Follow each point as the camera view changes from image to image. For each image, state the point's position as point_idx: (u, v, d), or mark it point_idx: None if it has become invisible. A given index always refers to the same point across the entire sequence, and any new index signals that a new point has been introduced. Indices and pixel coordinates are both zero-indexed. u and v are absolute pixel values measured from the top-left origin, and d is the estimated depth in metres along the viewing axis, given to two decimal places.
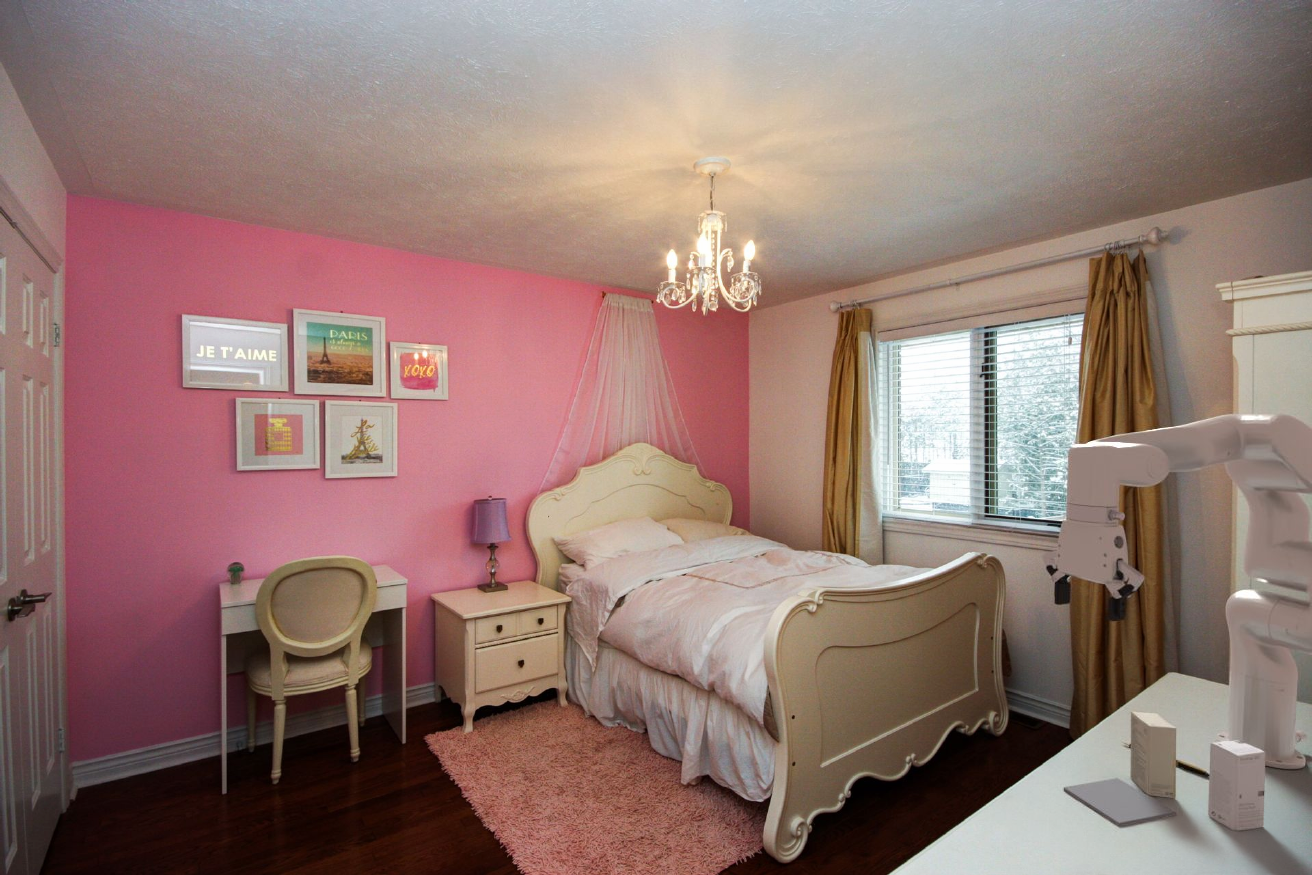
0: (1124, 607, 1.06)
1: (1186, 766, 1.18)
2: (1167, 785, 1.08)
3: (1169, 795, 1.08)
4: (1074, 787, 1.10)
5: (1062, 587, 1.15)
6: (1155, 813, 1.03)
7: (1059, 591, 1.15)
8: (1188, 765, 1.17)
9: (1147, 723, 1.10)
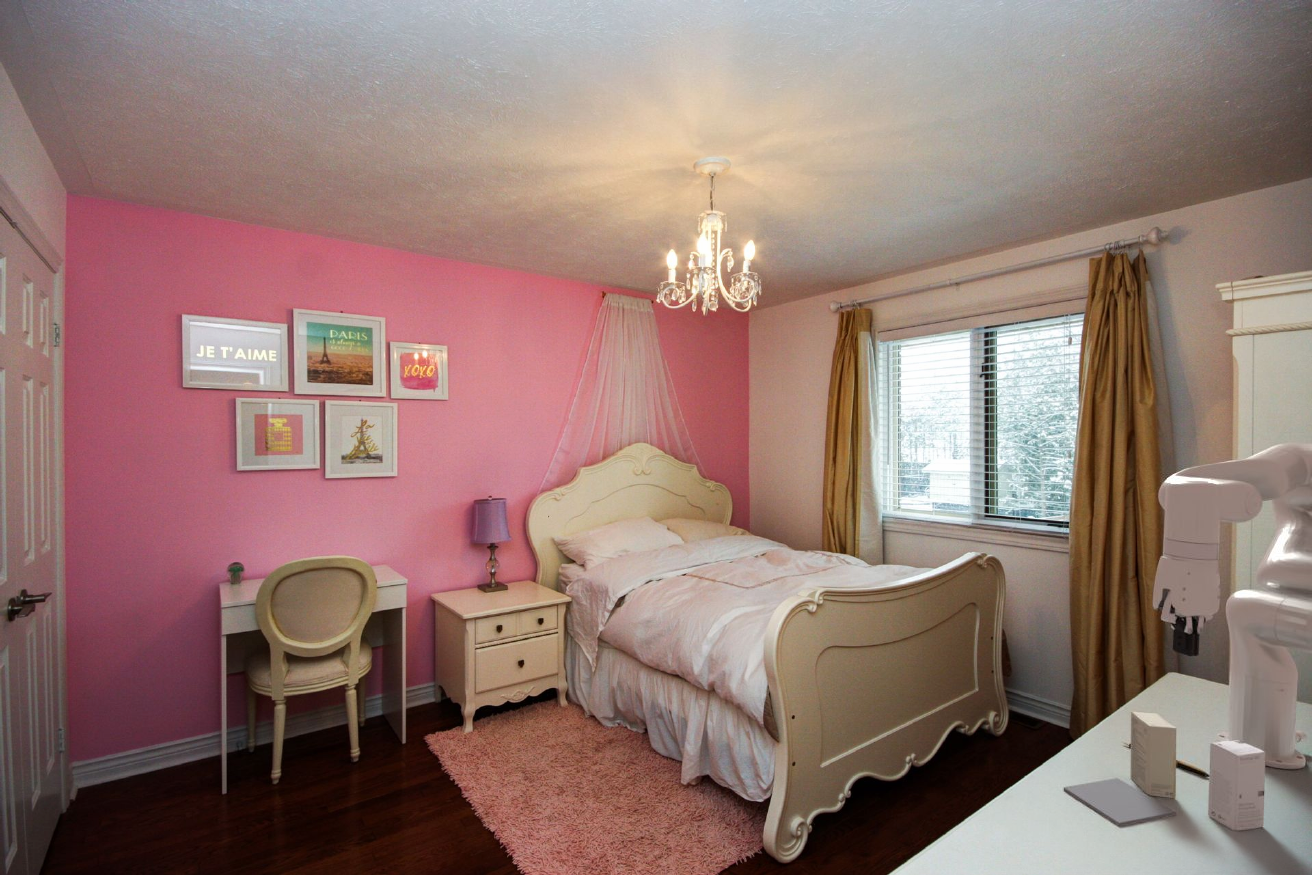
0: None
1: (1185, 766, 1.17)
2: (1167, 785, 1.08)
3: (1169, 795, 1.08)
4: (1074, 787, 1.10)
5: None
6: (1155, 813, 1.03)
7: None
8: (1187, 765, 1.17)
9: (1147, 723, 1.10)
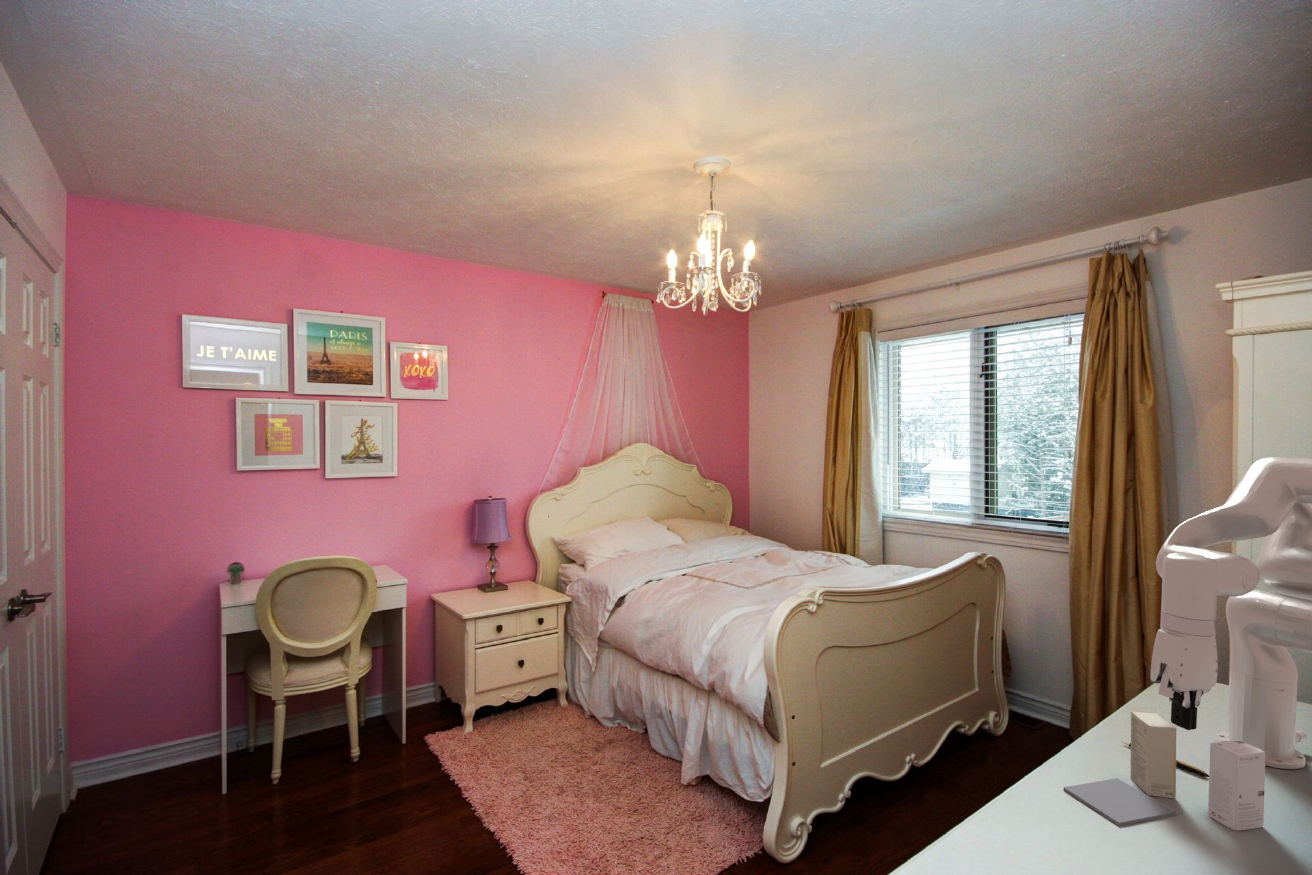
0: None
1: (1185, 766, 1.17)
2: (1167, 785, 1.08)
3: (1169, 795, 1.08)
4: (1074, 787, 1.10)
5: None
6: (1155, 813, 1.03)
7: None
8: (1187, 765, 1.17)
9: (1147, 723, 1.10)
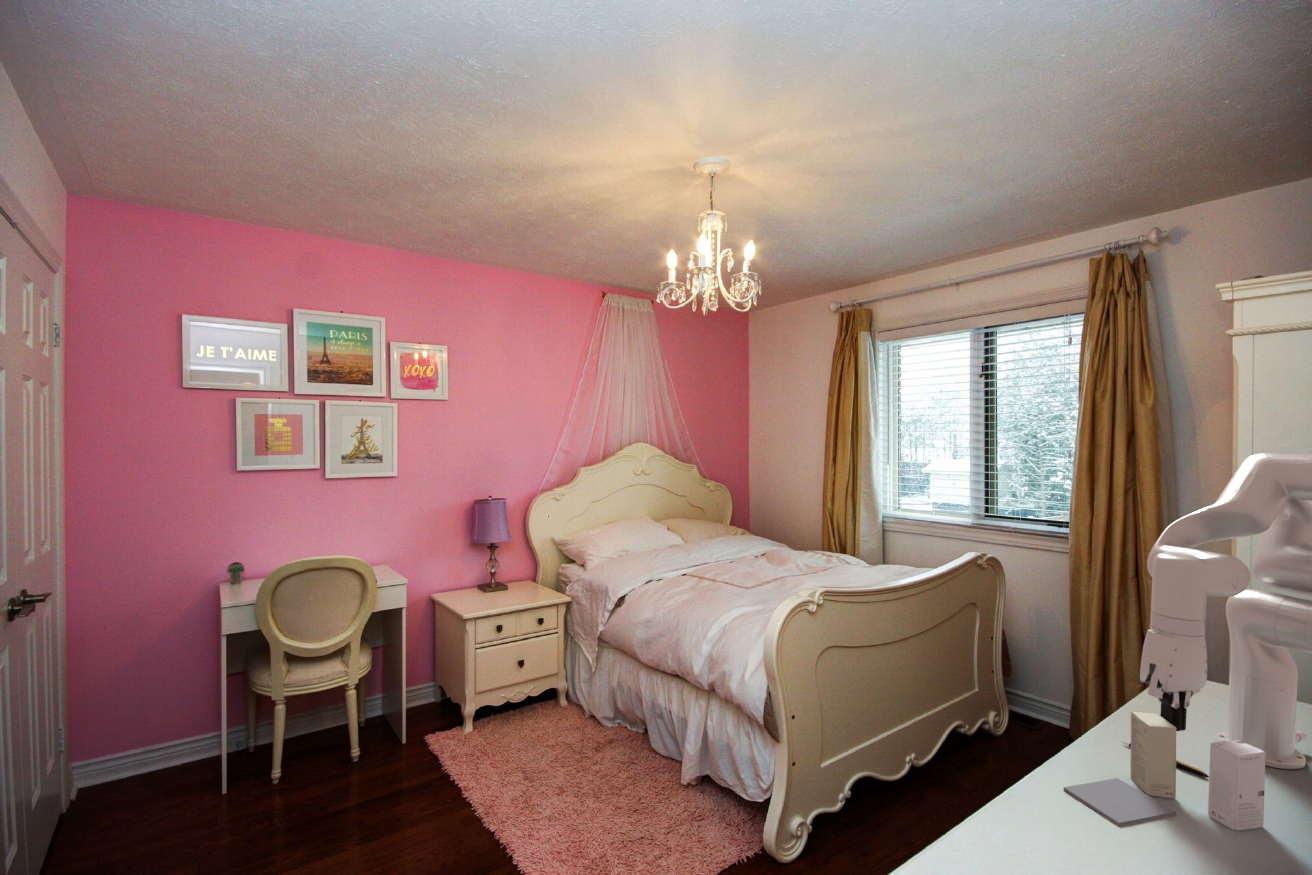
0: None
1: (1184, 766, 1.17)
2: (1167, 785, 1.08)
3: (1169, 795, 1.08)
4: (1074, 787, 1.10)
5: None
6: (1155, 813, 1.03)
7: None
8: (1186, 765, 1.17)
9: (1147, 723, 1.10)
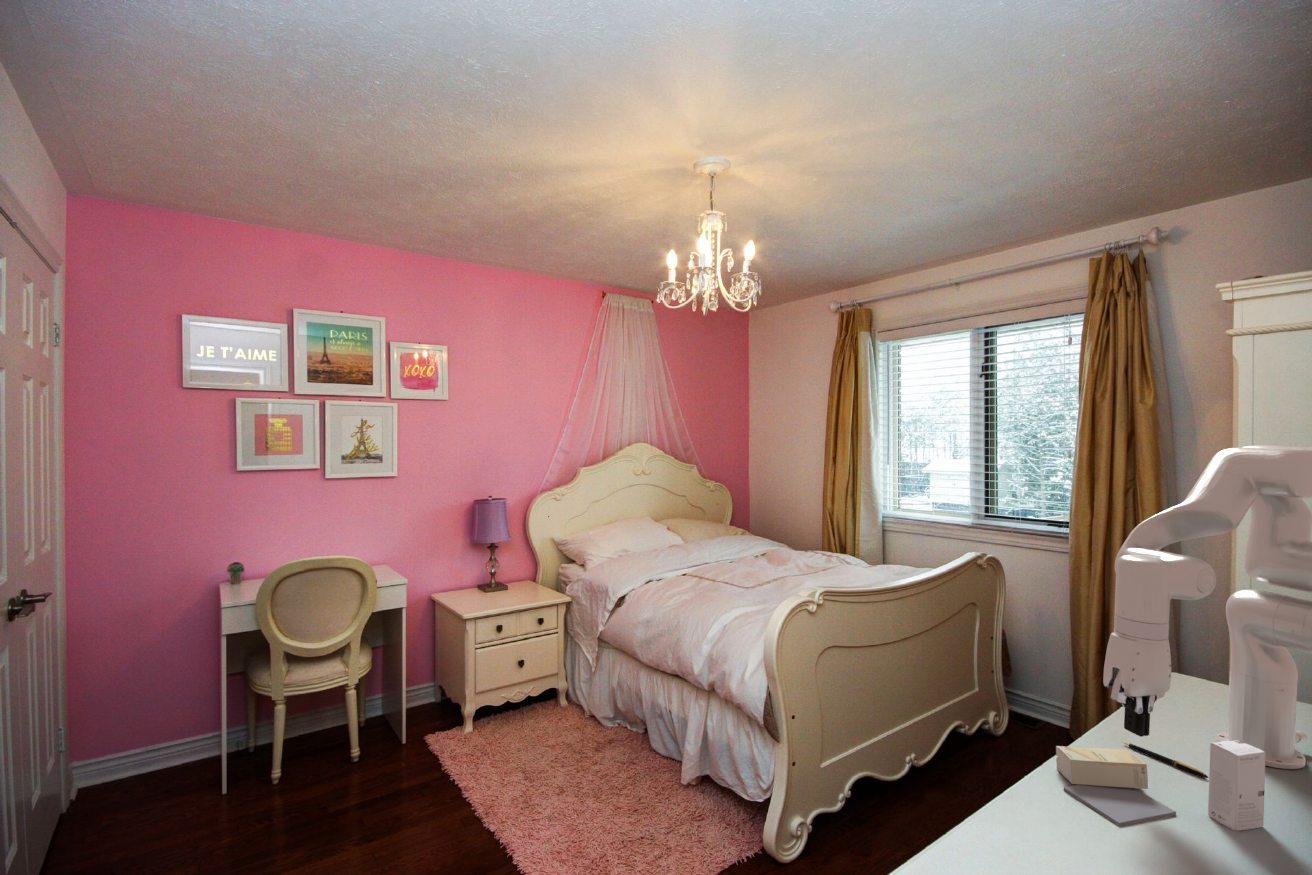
0: None
1: (1184, 767, 1.17)
2: (1134, 771, 1.10)
3: (1145, 770, 1.09)
4: (1074, 787, 1.10)
5: None
6: (1155, 813, 1.03)
7: None
8: (1186, 766, 1.17)
9: (1069, 779, 1.12)
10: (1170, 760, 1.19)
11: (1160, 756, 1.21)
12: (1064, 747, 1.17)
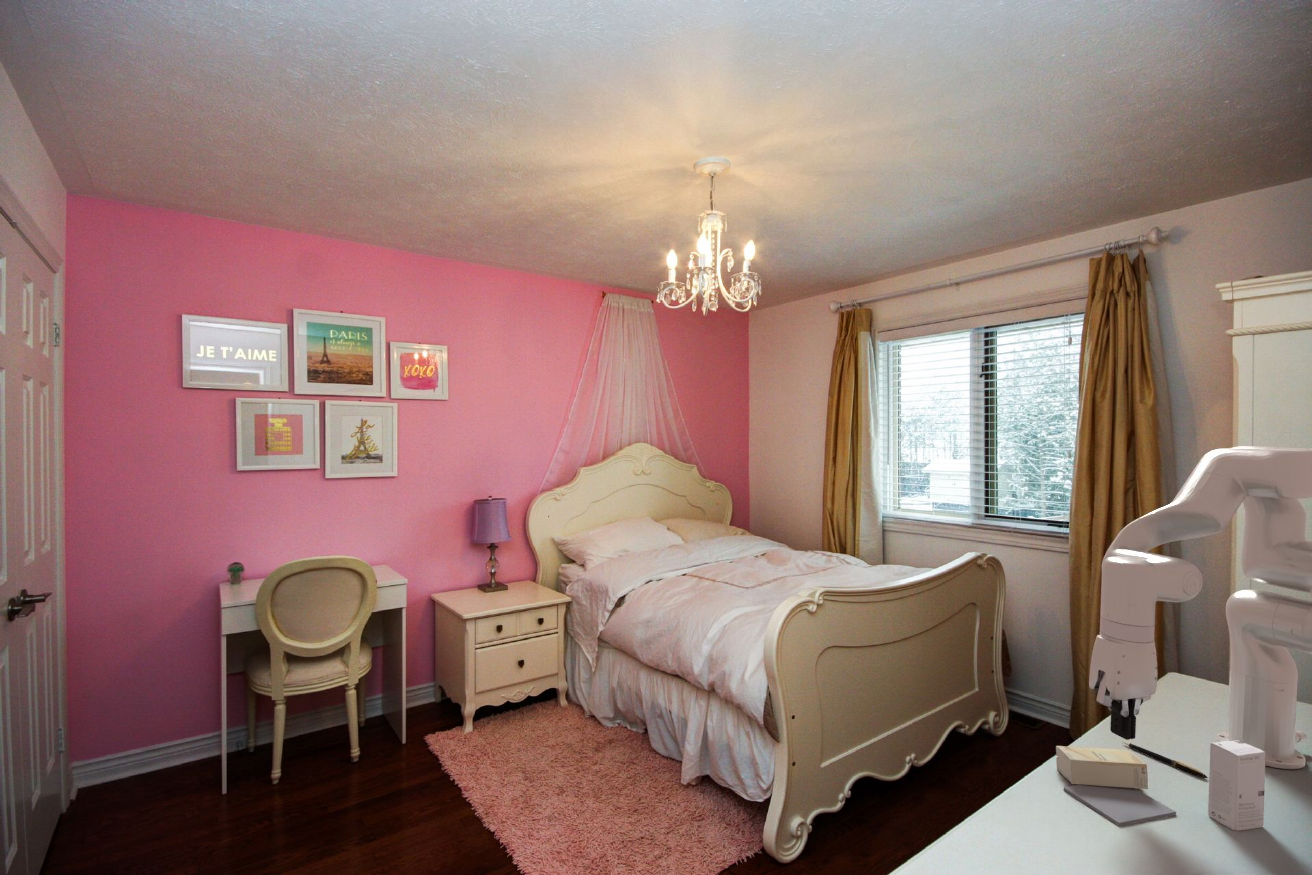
0: None
1: (1183, 767, 1.17)
2: (1134, 771, 1.10)
3: (1145, 770, 1.09)
4: (1074, 787, 1.10)
5: None
6: (1155, 813, 1.03)
7: None
8: (1185, 766, 1.17)
9: (1069, 779, 1.12)
10: (1170, 760, 1.19)
11: (1160, 756, 1.21)
12: (1064, 747, 1.17)
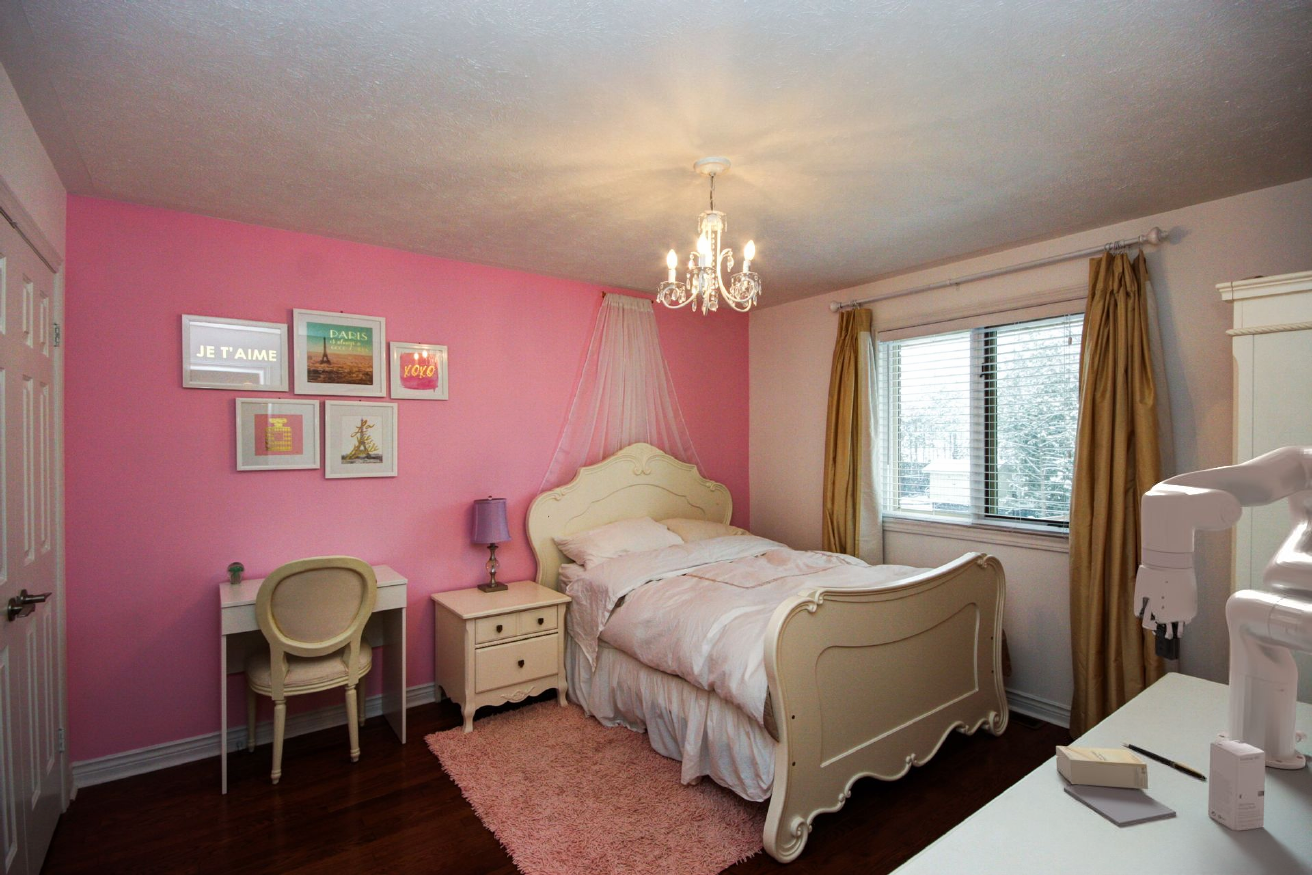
0: None
1: (1182, 768, 1.17)
2: (1134, 771, 1.10)
3: (1145, 770, 1.09)
4: (1074, 787, 1.10)
5: None
6: (1155, 813, 1.03)
7: None
8: (1184, 767, 1.17)
9: (1069, 779, 1.12)
10: (1169, 761, 1.19)
11: (1159, 757, 1.21)
12: (1064, 747, 1.17)
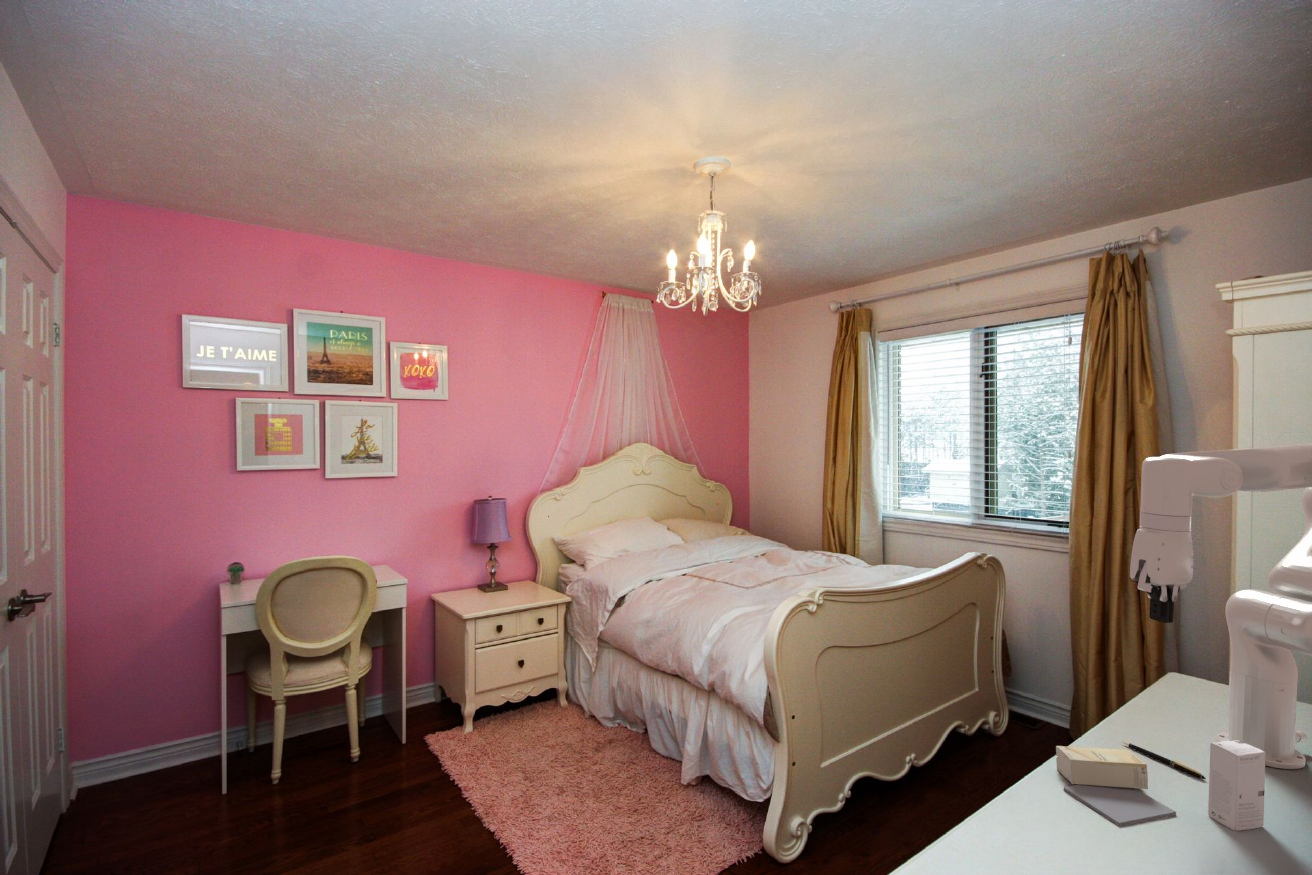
0: None
1: (1182, 767, 1.17)
2: (1134, 771, 1.10)
3: (1145, 770, 1.09)
4: (1074, 787, 1.10)
5: None
6: (1155, 813, 1.03)
7: None
8: (1183, 767, 1.17)
9: (1069, 779, 1.12)
10: (1168, 760, 1.19)
11: (1159, 756, 1.20)
12: (1064, 747, 1.17)
